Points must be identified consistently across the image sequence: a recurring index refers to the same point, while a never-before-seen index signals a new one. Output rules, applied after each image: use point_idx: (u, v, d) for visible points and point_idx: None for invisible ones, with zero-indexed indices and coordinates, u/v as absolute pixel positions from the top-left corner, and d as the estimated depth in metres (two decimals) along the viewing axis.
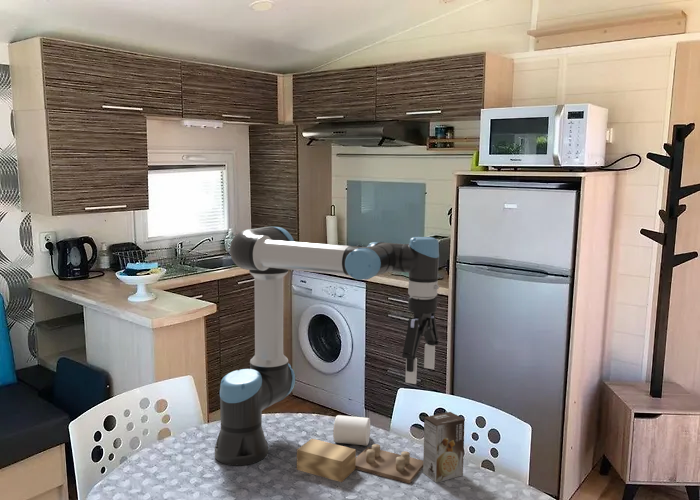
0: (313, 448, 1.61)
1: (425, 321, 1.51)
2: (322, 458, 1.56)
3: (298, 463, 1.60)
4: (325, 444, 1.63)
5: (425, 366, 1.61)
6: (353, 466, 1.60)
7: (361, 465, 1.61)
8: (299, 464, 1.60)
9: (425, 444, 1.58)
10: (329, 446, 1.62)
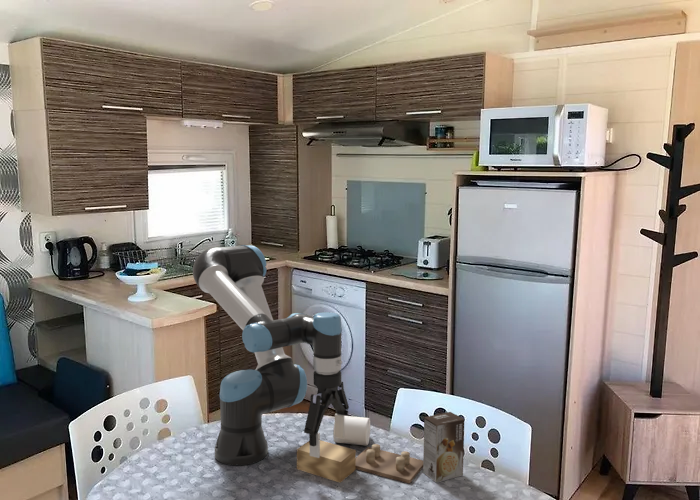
0: None
1: (329, 395, 1.56)
2: (321, 458, 1.56)
3: (298, 462, 1.60)
4: (325, 444, 1.63)
5: (335, 435, 1.66)
6: (353, 467, 1.59)
7: (361, 465, 1.61)
8: (299, 463, 1.60)
9: (425, 444, 1.58)
10: (329, 446, 1.62)
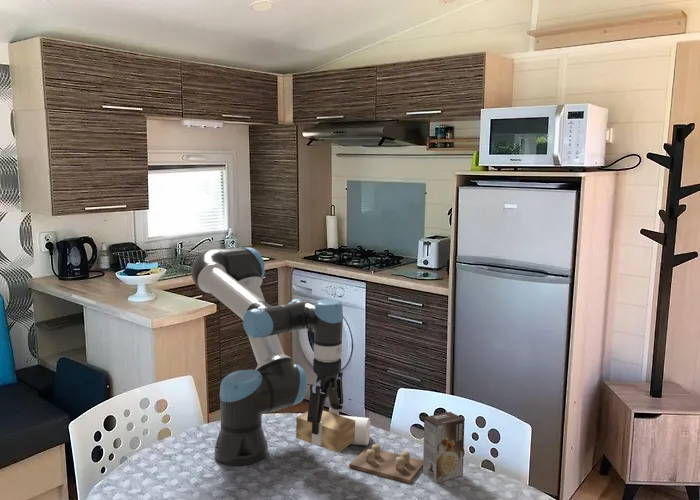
0: None
1: (328, 383, 1.55)
2: None
3: (297, 431, 1.60)
4: (325, 414, 1.62)
5: None
6: (352, 437, 1.58)
7: (361, 465, 1.61)
8: (298, 432, 1.60)
9: (425, 444, 1.58)
10: (329, 416, 1.61)
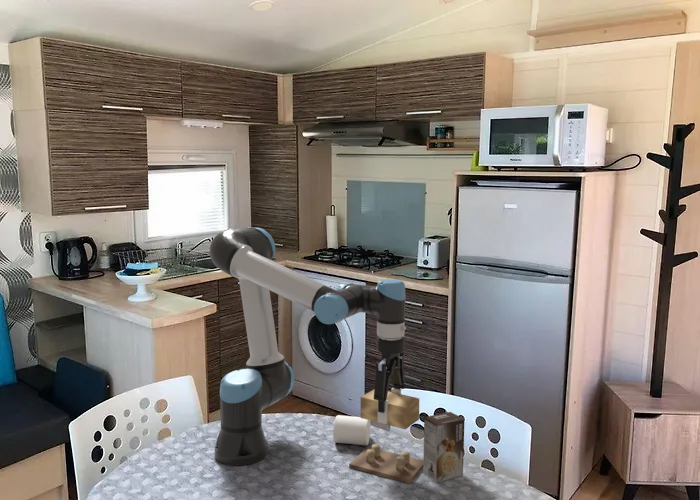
0: None
1: (393, 361, 1.57)
2: None
3: (362, 410, 1.61)
4: (388, 393, 1.64)
5: None
6: (417, 415, 1.59)
7: (361, 465, 1.61)
8: (363, 411, 1.61)
9: (425, 444, 1.58)
10: (392, 395, 1.62)
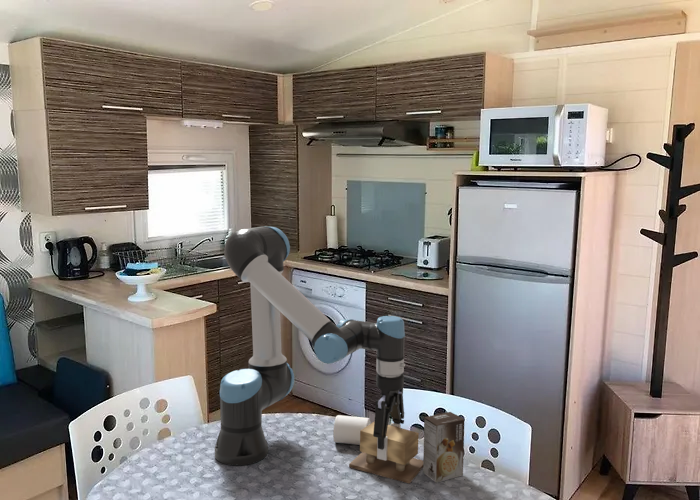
0: None
1: (392, 398, 1.58)
2: None
3: (361, 444, 1.62)
4: (388, 427, 1.65)
5: None
6: (416, 449, 1.61)
7: (361, 465, 1.61)
8: (362, 445, 1.62)
9: (425, 444, 1.58)
10: (392, 429, 1.63)
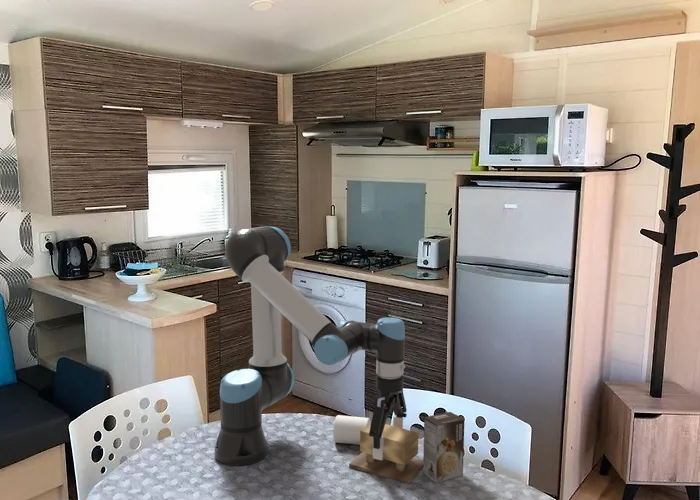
0: None
1: (392, 399, 1.58)
2: (385, 439, 1.58)
3: (361, 444, 1.62)
4: (388, 427, 1.65)
5: None
6: (416, 449, 1.61)
7: (361, 465, 1.61)
8: (362, 445, 1.62)
9: (425, 444, 1.58)
10: (392, 429, 1.63)
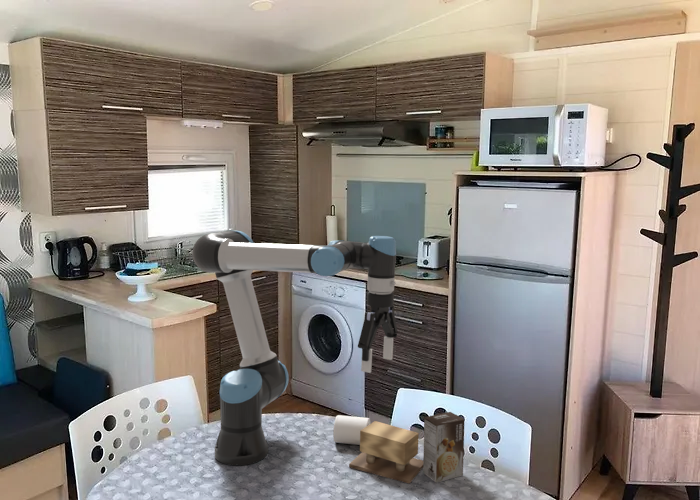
0: (376, 429, 1.63)
1: (382, 314, 1.62)
2: (385, 439, 1.58)
3: (361, 444, 1.62)
4: (388, 427, 1.65)
5: (384, 357, 1.72)
6: (416, 449, 1.61)
7: (361, 465, 1.61)
8: (362, 445, 1.62)
9: (425, 444, 1.58)
10: (392, 429, 1.63)
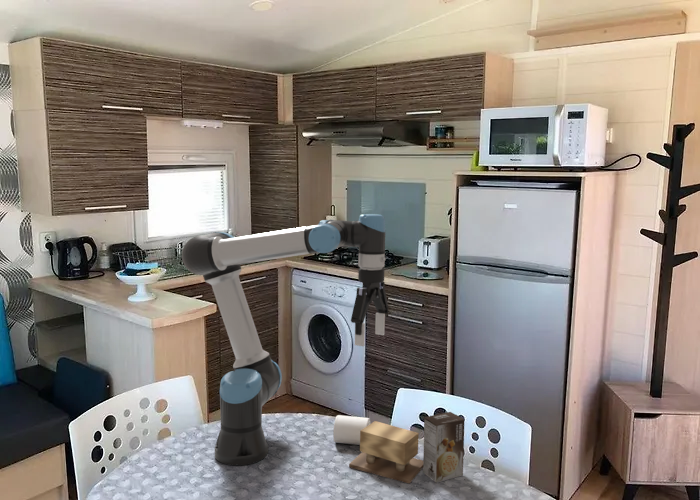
0: (376, 429, 1.63)
1: (373, 290, 1.67)
2: (385, 439, 1.58)
3: (361, 444, 1.62)
4: (388, 427, 1.65)
5: (376, 333, 1.77)
6: (416, 449, 1.61)
7: (361, 465, 1.61)
8: (362, 445, 1.62)
9: (425, 444, 1.58)
10: (392, 429, 1.63)
